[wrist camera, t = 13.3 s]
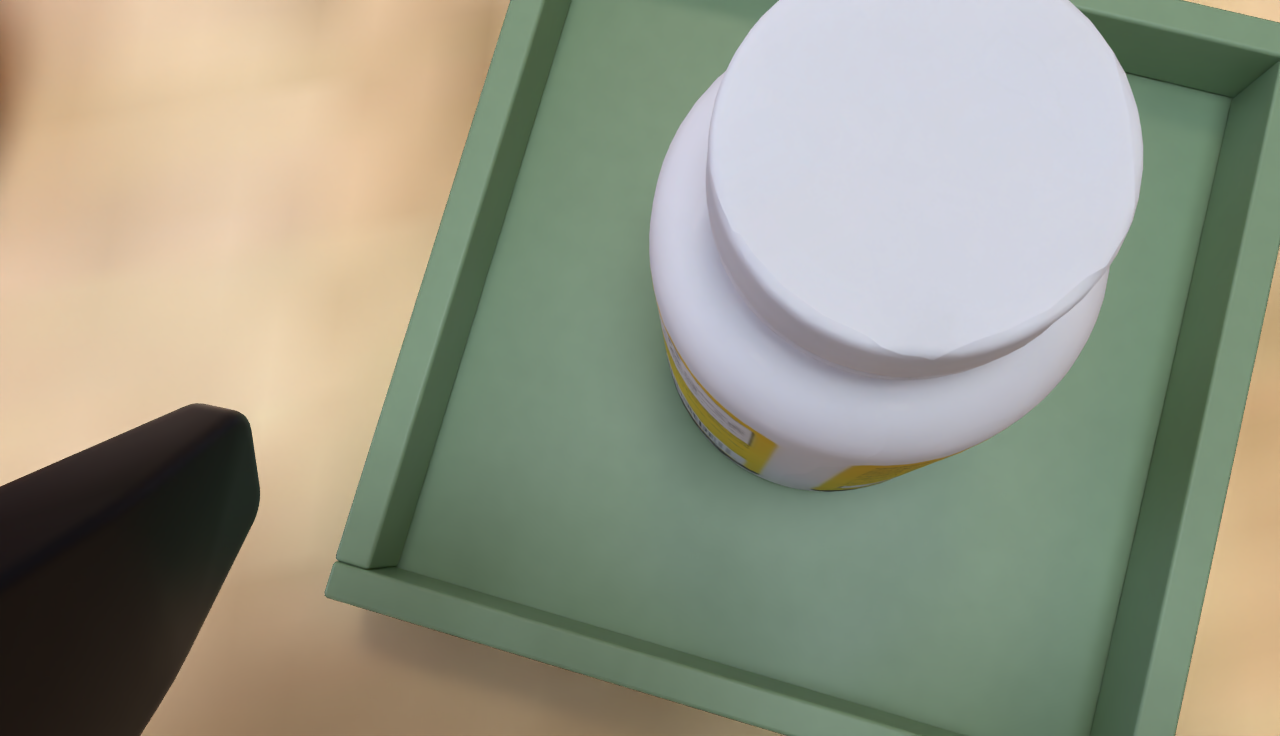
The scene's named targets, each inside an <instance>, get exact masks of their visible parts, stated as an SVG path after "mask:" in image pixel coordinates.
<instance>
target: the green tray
mask: <svg viewBox="0 0 1280 736" xmlns="http://www.w3.org/2000/svg"><path fill="white" fill-rule="evenodd" d="M778 1H779V0H510V3H509V7H508V10H507V13H506V16H505V19H504V23H503V26H502V29H501V32H500V35H499V38H498V42H497V45H496V48H495V51H494V54H493V58H492V61H491V64H490V67H489V70H488V73H487V77H486V80H485V83H484V86H483V89H482V93H481V96H480V99H479V102H478V105H477V108H476V112H475V115H474V118H473V121H472V124H471V128H470V131H469V134H468V137H467V140H466V143H465V147H464V150H463V153H462V156H461V159H460V163H459V166H458V169H457V172H456V175H455V178H454V182H453V185H452V188H451V191H450V194H449V198H448V201H447V204H446V207H445V210H444V213H443V217H442V220H441V223H440V226H439V229H438V233H437V236H436V239H435V242H434V245H433V248H432V252H431V255H430V258H429V261H428V264H427V268H426V271H425V274H424V277H423V280H422V284H421V287H420V290H419V293H418V296H417V299H416V303H415V306H414V309H413V312H412V315H411V319H410V322H409V325H408V328H407V331H406V334H405V338H404V341H403V344H402V347H401V350H400V354H399V357H398V360H397V363H396V366H395V369H394V373H393V376H392V379H391V382H390V385H389V389H388V392H387V395H386V398H385V401H384V404H383V408H382V411H381V414H380V417H379V420H378V424H377V427H376V430H375V433H374V436H373V439H372V443H371V446H370V449H369V452H368V455H367V459H366V462H365V465H364V468H363V471H362V474H361V478H360V481H359V484H358V487H357V490H356V494H355V497H354V500H353V503H352V506H351V509H350V513H349V516H348V519H347V522H346V525H345V529H344V532H343V535H342V538H341V541H340V544H339V548H338V551H337V554H336V559H337V560H338V561H337V562H335V563H334V564H333V567H332V570H331V573H330V576H329V579H328V583H327V586H326V589H325V596H326V597H327V598H330V599H333V600H336V601H340V602H343V603H346V604H350V605H353V606H356V607H360V608H363V609H366V610H370V611H373V612H376V613H380V614H383V615H386V616H390V617H393V618H396V619H400V620H403V621H406V622H410V623H413V624H416V625H420V626H423V627H426V628H430V629H433V630H436V631H439V632H443V633H446V634H449V635H453V636H456V637H459V638H463V639H466V640H469V641H473V642H476V643H479V644H483V645H486V646H489V647H493V648H496V649H499V650H503V651H506V652H509V653H513V654H516V655H519V656H523V657H526V658H529V659H533V660H536V661H539V662H543V663H546V664H549V665H553V666H556V667H559V668H563V669H566V670H569V671H573V672H576V673H579V674H583V675H586V676H589V677H593V678H596V679H599V680H603V681H606V682H609V683H613V684H616V685H619V686H623V687H626V688H629V689H633V690H636V691H639V692H643V693H646V694H649V695H653V696H656V697H659V698H663V699H666V700H669V701H673V702H676V703H679V704H683V705H686V706H689V707H693V708H696V709H699V710H703V711H706V712H709V713H713V714H716V715H719V716H723V717H726V718H729V719H733V720H736V721H739V722H743V723H746V724H749V725H753V726H756V727H759V728H762V729H766V730H769V731H772V732H776V733H779V734H782V735H786V736H1175V733H1176V728H1177V723H1178V719H1179V714H1180V709H1181V704H1182V700H1183V695H1184V690H1185V686H1186V681H1187V676H1188V672H1189V667H1190V662H1191V658H1192V653H1193V648H1194V644H1195V639H1196V634H1197V629H1198V625H1199V620H1200V615H1201V611H1202V606H1203V601H1204V597H1205V592H1206V587H1207V583H1208V578H1209V573H1210V569H1211V564H1212V559H1213V554H1214V550H1215V545H1216V540H1217V536H1218V531H1219V526H1220V522H1221V517H1222V512H1223V508H1224V503H1225V498H1226V494H1227V489H1228V484H1229V479H1230V475H1231V470H1232V465H1233V461H1234V456H1235V451H1236V447H1237V442H1238V437H1239V433H1240V428H1241V423H1242V418H1243V414H1244V409H1245V404H1246V400H1247V395H1248V390H1249V386H1250V381H1251V376H1252V372H1253V367H1254V362H1255V358H1256V353H1257V348H1258V343H1259V339H1260V334H1261V329H1262V325H1263V320H1264V315H1265V311H1266V306H1267V301H1268V297H1269V292H1270V287H1271V283H1272V278H1273V273H1274V268H1275V264H1276V259H1277V254H1278V250H1279V245H1280V23H1279V22H1274V21H1270V20H1266V19H1261V18H1257V17H1253V16H1248V15H1244V14H1240V13H1235V12H1231V11H1227V10H1222V9H1218V8H1214V7H1209V6H1205V5H1201V4H1196V3H1192V2H1187V1H1183V0H1069V1H1070V2H1071V3H1072V4H1073V5H1074V6H1075V7H1076V8H1078V9H1079V10H1080V11H1081V12H1082V13H1083V14H1084V15H1085V16H1086V17H1087V18H1088V19H1089V20H1090V21H1091V22H1092V23H1093V25H1094V26H1095V27H1096V29H1097V30H1098V31H1099V32H1100V34H1101V35H1102V36H1103V38H1104V39H1105V41H1106V42H1107V44H1108V45H1109V46H1110V48H1111V49H1112V51H1113V52H1114V54H1115V56H1116V58H1117V59H1118V61H1119V63H1120V65H1121V66H1122V68H1123V70H1124V72H1125V73H1126V76H1127V79H1128V82H1129V85H1130V87H1131V90H1132V93H1133V96H1134V99H1135V102H1136V105H1137V109H1138V113H1139V119H1140V124H1141V131H1142V140H1143V172H1142V179H1141V186H1140V193H1139V200H1138V203H1137V207H1136V211H1135V214H1134V218H1133V221H1132V224H1131V226H1130V228H1129V231H1128V233H1127V235H1126V237H1125V239H1124V241H1123V243H1122V245H1121V247H1120V250H1119V252H1118V254H1117V255H1116V257H1115V259H1114V260H1113V262H1112V263H1111V265H1110V269H1109V275H1108V280H1107V285H1106V291H1105V296H1104V300H1103V303H1102V306H1101V309H1100V312H1099V315H1098V318H1097V321H1096V323H1095V325H1094V327H1093V330H1092V332H1091V334H1090V336H1089V339H1088V340H1087V342H1086V344H1085V346H1084V347H1083V349H1082V351H1081V353H1080V354H1079V356H1078V358H1077V359H1076V361H1075V362H1074V364H1073V365H1072V367H1071V368H1070V370H1069V371H1068V372H1067V374H1066V375H1065V376H1064V377H1063V379H1062V380H1061V381H1060V382H1059V383H1058V384H1057V385H1056V387H1055V388H1054V389H1053V390H1052V391H1051V392H1050V393H1049V394H1048V395H1047V396H1046V397H1045V398H1044V399H1043V400H1042V401H1041V402H1040V403H1039V404H1038V405H1037V406H1035V407H1034V408H1033V409H1032V410H1031V411H1029V412H1028V413H1027V414H1026V415H1024V416H1023V417H1022V418H1021V419H1019V420H1018V421H1016V422H1015V423H1013V424H1012V425H1010V426H1009V427H1008V428H1006V429H1005V430H1003V431H1001V432H999V433H998V434H996V435H994V436H993V437H991V438H989V439H988V440H986V441H984V442H982V443H980V444H978V445H975V446H973V447H971V448H969V449H967V450H965V451H963V452H961V453H958V454H956V455H953V456H950V457H947V458H945V459H943V460H940V461H937V462H934V463H931V464H929V465H927V466H924V467H922V468H919V469H916V470H913V471H911V472H908V473H906V474H903V475H900V476H898V477H895V478H893V479H890V480H888V481H885V482H882V483H879V484H875V485H872V486H868V487H863V488H858V489H854V490H845V491H835V492H823V491H808V490H801V489H794V488H790V487H786V486H783V485H779V484H776V483H773V482H770V481H768V480H765V479H763V478H761V477H758V476H756V475H754V474H752V473H750V472H748V471H747V470H745V469H743V468H742V467H740V466H738V465H737V464H735V463H734V462H733V461H731V460H730V459H729V458H727V457H726V456H725V455H724V454H722V453H721V452H720V451H719V450H718V449H717V448H716V447H715V446H714V445H713V444H712V443H711V442H710V441H709V440H708V439H707V438H706V437H705V436H704V434H703V433H702V432H701V431H700V429H699V428H698V427H697V425H696V424H695V422H694V421H693V419H692V418H691V416H690V415H689V413H688V412H687V410H686V408H685V406H684V405H683V402H682V400H681V398H680V396H679V394H678V391H677V389H676V386H675V383H674V380H673V377H672V374H671V370H670V366H669V362H668V357H667V352H666V346H665V342H664V337H663V332H662V327H661V322H660V317H659V311H658V307H657V302H656V297H655V293H654V288H653V282H652V275H651V269H650V257H649V232H650V220H651V213H652V205H653V200H654V195H655V190H656V185H657V181H658V177H659V174H660V170H661V167H662V164H663V161H664V158H665V156H666V153H667V151H668V149H669V146H670V144H671V142H672V140H673V138H674V136H675V134H676V132H677V130H678V128H679V126H680V125H681V123H682V122H683V120H684V119H685V117H686V116H687V114H688V113H689V111H690V110H691V109H692V107H693V106H694V104H695V103H696V101H697V100H698V99H699V98H700V97H701V96H702V95H703V94H704V93H705V91H706V90H707V89H708V88H709V87H710V86H711V85H712V84H713V82H714V81H715V80H716V79H717V78H718V77H719V76H721V75H722V74H723V73H724V72H725V71H726V70H727V68H728V66H729V64H730V62H731V60H732V58H733V56H734V54H735V52H736V50H737V49H738V48H739V46H740V45H741V43H742V42H743V40H744V39H745V37H746V36H747V34H748V33H749V31H750V30H751V29H752V27H753V26H754V25H755V24H756V23H757V22H758V20H759V19H760V18H761V17H762V16H763V15H764V14H765V13H766V12H767V11H768V10H769V9H770V8H771V7H772V6H773V5H774V4H775V3H777V2H778Z"/></svg>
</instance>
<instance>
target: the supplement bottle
mask: <svg viewBox="0 0 1280 736" xmlns="http://www.w3.org/2000/svg"><path fill="white" fill-rule="evenodd" d="M1142 172H1143V140H1142V131H1141V124H1140V119H1139V113H1138V109H1137V105H1136V102H1135V99H1134V96H1133V93H1132V90H1131V87H1130V85H1129V82H1128V79H1127V76H1126V73H1125V72H1124V70H1123V68H1122V66H1121V65H1120V63H1119V61H1118V59H1117V58H1116V56H1115V54H1114V52H1113V51H1112V49H1111V48H1110V46H1109V45H1108V44H1107V42H1106V41H1105V39H1104V38H1103V36H1102V35H1101V34H1100V32H1099V31H1098V30H1097V29H1096V27H1095V26H1094V25H1093V23H1092V22H1091V21H1090V20H1089V19H1088V18H1087V17H1086V16H1085V15H1084V14H1083V13H1082V12H1081V11H1080V10H1079V9H1078V8H1076V7H1075V6H1074V5H1073V4H1072V3H1071V2H1070V1H1069V0H779V1H778V2H777V3H775V4H774V5H773V6H772V7H771V8H770V9H769V10H768V11H767V12H766V13H765V14H764V15H763V16H762V17H761V18H760V19H759V20H758V22H757V23H756V24H755V25H754V26H753V27H752V29H751V30H750V31H749V33H748V34H747V36H746V37H745V39H744V40H743V42H742V43H741V45H740V46H739V48H738V49H737V50H736V52H735V54H734V56H733V58H732V60H731V62H730V64H729V66H728V68H727V70H726V71H725V72H724V73H723V74H722V75H721V76H719V77H718V78H717V79H716V80H715V81H714V82H713V84H712V85H711V86H710V87H709V88H708V89H707V90H706V91H705V93H704V94H703V95H702V96H701V97H700V98H699V99H698V100H697V101H696V103H695V104H694V106H693V107H692V109H691V110H690V111H689V113H688V114H687V116H686V117H685V119H684V120H683V122H682V123H681V125H680V126H679V128H678V130H677V132H676V134H675V136H674V138H673V140H672V142H671V144H670V146H669V149H668V151H667V153H666V156H665V158H664V161H663V164H662V167H661V170H660V174H659V177H658V181H657V185H656V190H655V195H654V200H653V205H652V213H651V220H650V232H649V257H650V269H651V275H652V282H653V288H654V293H655V297H656V302H657V307H658V311H659V317H660V322H661V327H662V332H663V337H664V342H665V346H666V352H667V357H668V362H669V366H670V370H671V374H672V377H673V380H674V383H675V386H676V389H677V391H678V394H679V396H680V398H681V400H682V402H683V405H684V406H685V408H686V410H687V412H688V413H689V415H690V416H691V418H692V419H693V421H694V422H695V424H696V425H697V427H698V428H699V429H700V431H701V432H702V433H703V434H704V436H705V437H706V438H707V439H708V440H709V441H710V442H711V443H712V444H713V445H714V446H715V447H716V448H717V449H718V450H719V451H720V452H721V453H722V454H724V455H725V456H726V457H727V458H729V459H730V460H731V461H733V462H734V463H735V464H737V465H738V466H740V467H742V468H743V469H745V470H747V471H748V472H750V473H752V474H754V475H756V476H758V477H761V478H763V479H765V480H768V481H770V482H773V483H776V484H779V485H783V486H786V487H790V488H794V489H801V490H808V491H823V492H835V491H845V490H854V489H858V488H863V487H868V486H872V485H875V484H879V483H882V482H885V481H888V480H890V479H893V478H895V477H898V476H900V475H903V474H906V473H908V472H911V471H913V470H916V469H919V468H922V467H924V466H927V465H929V464H931V463H934V462H937V461H940V460H943V459H945V458H947V457H950V456H953V455H956V454H958V453H961V452H963V451H965V450H967V449H969V448H971V447H973V446H975V445H978V444H980V443H982V442H984V441H986V440H988V439H989V438H991V437H993V436H994V435H996V434H998V433H999V432H1001V431H1003V430H1005V429H1006V428H1008V427H1009V426H1010V425H1012V424H1013V423H1015V422H1016V421H1018V420H1019V419H1021V418H1022V417H1023V416H1024V415H1026V414H1027V413H1028V412H1029V411H1031V410H1032V409H1033V408H1034V407H1035V406H1037V405H1038V404H1039V403H1040V402H1041V401H1042V400H1043V399H1044V398H1045V397H1046V396H1047V395H1048V394H1049V393H1050V392H1051V391H1052V390H1053V389H1054V388H1055V387H1056V385H1057V384H1058V383H1059V382H1060V381H1061V380H1062V379H1063V377H1064V376H1065V375H1066V374H1067V372H1068V371H1069V370H1070V368H1071V367H1072V365H1073V364H1074V362H1075V361H1076V359H1077V358H1078V356H1079V354H1080V353H1081V351H1082V349H1083V347H1084V346H1085V344H1086V342H1087V340H1088V339H1089V336H1090V334H1091V332H1092V330H1093V327H1094V325H1095V323H1096V321H1097V318H1098V315H1099V312H1100V309H1101V306H1102V303H1103V300H1104V296H1105V291H1106V285H1107V280H1108V275H1109V269H1110V265H1111V263H1112V262H1113V260H1114V259H1115V257H1116V255H1117V254H1118V252H1119V250H1120V247H1121V245H1122V243H1123V241H1124V239H1125V237H1126V235H1127V233H1128V231H1129V228H1130V226H1131V224H1132V221H1133V218H1134V214H1135V211H1136V207H1137V203H1138V200H1139V193H1140V186H1141V179H1142Z"/></svg>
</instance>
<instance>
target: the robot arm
mask: <svg viewBox="0 0 1280 736" xmlns="http://www.w3.org/2000/svg"><path fill="white" fill-rule="evenodd" d="M259 502H260V486H259V479H258V472H257V465H256V459H255V452H254V445H253V438H252V432H251V427H250V423H249V421H248V420H247V418H246V417H245V416H244V415H243V414H241V413H240V412H238V411H235V410H230V409H225V408H221V407H216V406H212V405H207V404H198V403H195V404H190V405H188V406H185V407H182V408H180V409H178V410H175V411H173V412H171V413H168V414H166V415H164V416H162V417H159V418H157V419H155V420H152V421H150V422H148V423H145V424H143V425H141V426H139V427H136V428H134V429H132V430H129V431H127V432H125V433H122V434H120V435H118V436H116V437H113V438H111V439H109V440H106V441H104V442H102V443H99V444H97V445H95V446H93V447H90V448H88V449H86V450H83V451H81V452H79V453H76V454H74V455H72V456H70V457H67V458H65V459H63V460H60V461H58V462H56V463H53V464H51V465H49V466H47V467H44V468H42V469H40V470H37V471H35V472H33V473H30V474H28V475H26V476H24V477H21V478H19V479H17V480H14V481H12V482H10V483H7V484H5V485H3V486H1V487H0V736H140V735H141V733H142V732H143V730H144V728H145V727H146V725H147V724H148V722H149V721H150V719H151V717H152V716H153V714H154V713H155V711H156V710H157V708H158V706H159V705H160V703H161V701H162V700H163V698H164V696H165V695H166V693H167V692H168V690H169V688H170V687H171V685H172V683H173V682H174V680H175V678H176V676H177V674H178V672H179V670H180V668H181V667H182V665H183V663H184V661H185V659H186V657H187V655H188V653H189V651H190V649H191V647H192V645H193V643H194V641H195V639H196V637H197V635H198V633H199V631H200V629H201V627H202V625H203V623H204V621H205V619H206V617H207V615H208V613H209V611H210V609H211V607H212V605H213V603H214V601H215V599H216V597H217V595H218V593H219V591H220V589H221V587H222V585H223V583H224V581H225V579H226V577H227V575H228V573H229V570H230V568H231V566H232V564H233V562H234V560H235V558H236V556H237V554H238V552H239V550H240V548H241V546H242V544H243V542H244V540H245V538H246V536H247V534H248V532H249V530H250V528H251V526H252V524H253V522H254V519H255V517H256V514H257V511H258V507H259Z"/></svg>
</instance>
